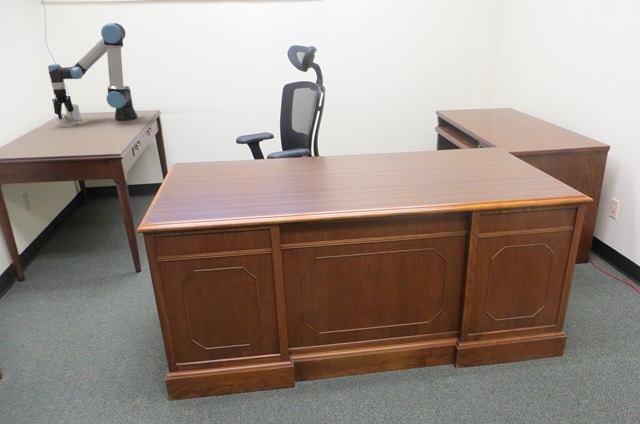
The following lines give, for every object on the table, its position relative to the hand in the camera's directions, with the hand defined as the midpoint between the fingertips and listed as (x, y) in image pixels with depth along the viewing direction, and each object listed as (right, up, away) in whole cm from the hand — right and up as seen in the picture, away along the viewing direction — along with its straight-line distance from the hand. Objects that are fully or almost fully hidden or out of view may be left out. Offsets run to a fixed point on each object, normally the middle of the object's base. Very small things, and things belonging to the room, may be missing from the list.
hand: (66, 122), depth 320 cm
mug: (-4, +5, +18) cm, 19 cm away
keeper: (0, -2, +1) cm, 2 cm away
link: (0, 0, 0) cm, 0 cm away
